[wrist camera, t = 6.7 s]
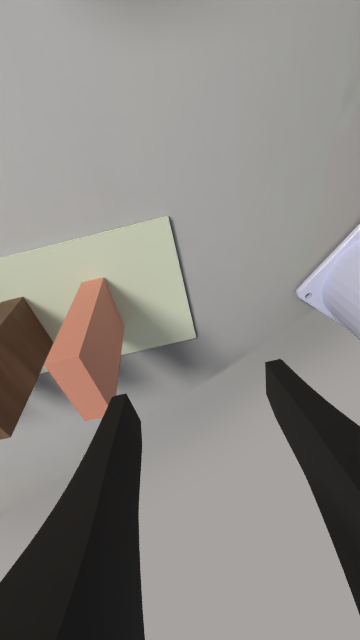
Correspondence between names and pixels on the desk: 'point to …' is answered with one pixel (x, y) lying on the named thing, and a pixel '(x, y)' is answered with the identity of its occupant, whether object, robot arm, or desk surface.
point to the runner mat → (108, 282)
